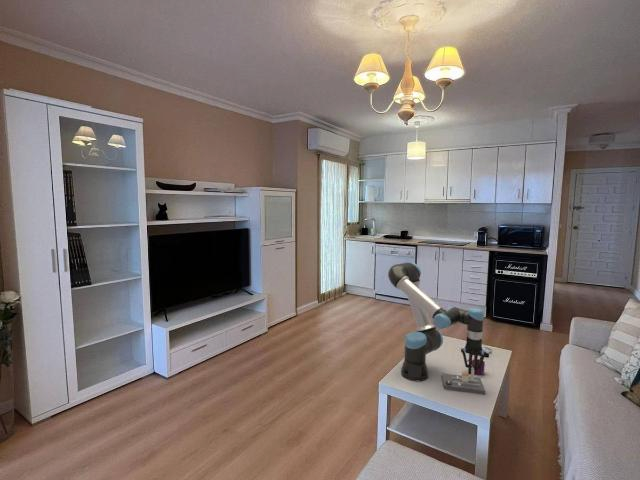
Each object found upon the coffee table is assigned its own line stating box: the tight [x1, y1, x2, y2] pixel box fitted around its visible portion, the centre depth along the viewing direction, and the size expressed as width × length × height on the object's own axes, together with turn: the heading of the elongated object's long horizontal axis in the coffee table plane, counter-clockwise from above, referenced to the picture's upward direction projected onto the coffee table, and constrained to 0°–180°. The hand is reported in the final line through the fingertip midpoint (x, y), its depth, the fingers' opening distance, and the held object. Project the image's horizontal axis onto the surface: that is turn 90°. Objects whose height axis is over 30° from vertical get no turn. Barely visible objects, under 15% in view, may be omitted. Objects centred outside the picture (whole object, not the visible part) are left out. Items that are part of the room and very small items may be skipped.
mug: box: [467, 358, 486, 376], centre depth 203 cm, size 7×10×7 cm
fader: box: [461, 371, 470, 383], centre depth 187 cm, size 3×3×5 cm
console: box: [441, 372, 486, 395], centre depth 188 cm, size 20×14×3 cm
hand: (471, 380), depth 187 cm, fingers closed
